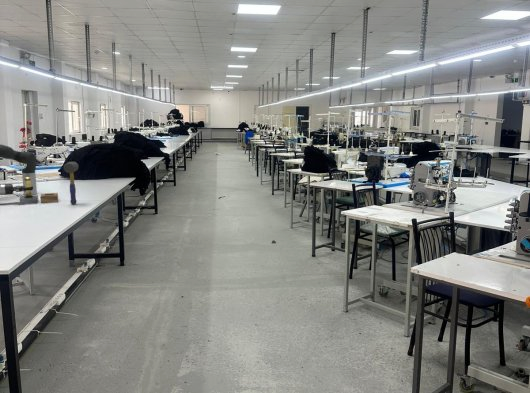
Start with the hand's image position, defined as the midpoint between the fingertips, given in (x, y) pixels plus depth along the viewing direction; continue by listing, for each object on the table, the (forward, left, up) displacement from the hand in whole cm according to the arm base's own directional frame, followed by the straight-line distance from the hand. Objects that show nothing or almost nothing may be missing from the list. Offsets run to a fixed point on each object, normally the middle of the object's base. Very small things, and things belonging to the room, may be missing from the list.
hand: (32, 188), depth 306 cm
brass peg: (0, -3, -10) cm, 10 cm away
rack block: (0, +10, -10) cm, 14 cm away
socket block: (0, -3, -10) cm, 11 cm away
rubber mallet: (+18, +26, -10) cm, 33 cm away
